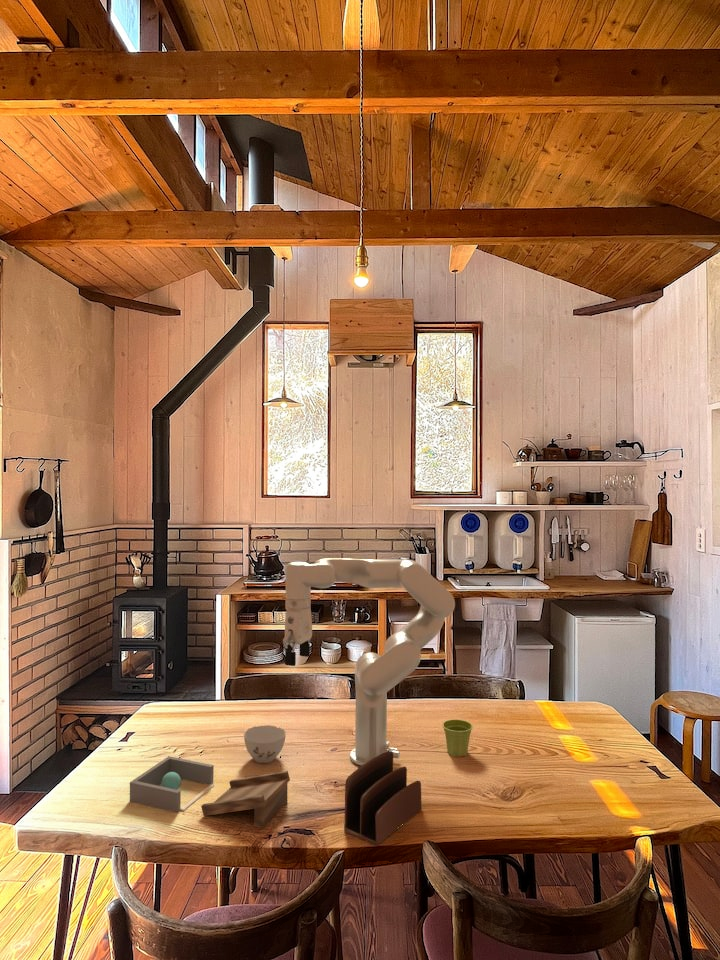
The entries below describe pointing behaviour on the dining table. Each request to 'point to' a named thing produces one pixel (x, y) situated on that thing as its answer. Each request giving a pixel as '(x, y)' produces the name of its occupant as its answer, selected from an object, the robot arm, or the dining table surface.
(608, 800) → the dining table surface
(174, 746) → the dining table surface
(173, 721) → the dining table surface
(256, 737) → the teacup
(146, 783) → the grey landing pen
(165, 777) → the teal rubber ball
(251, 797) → the walnut ramp
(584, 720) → the dining table surface
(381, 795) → the letter holder
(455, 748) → the plant pot
